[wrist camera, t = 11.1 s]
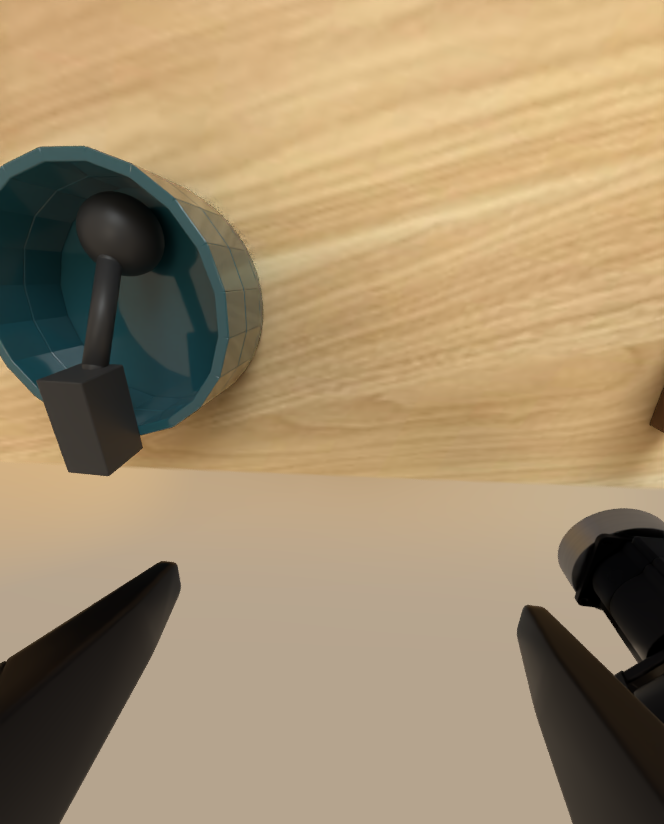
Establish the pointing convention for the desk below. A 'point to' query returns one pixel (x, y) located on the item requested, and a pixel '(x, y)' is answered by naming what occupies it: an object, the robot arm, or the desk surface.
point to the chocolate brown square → (659, 414)
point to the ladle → (103, 339)
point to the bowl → (124, 285)
